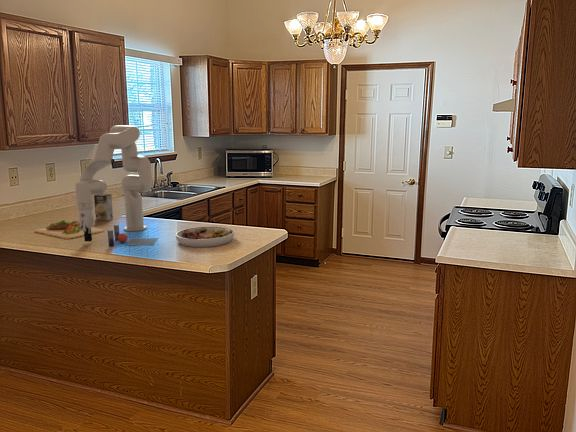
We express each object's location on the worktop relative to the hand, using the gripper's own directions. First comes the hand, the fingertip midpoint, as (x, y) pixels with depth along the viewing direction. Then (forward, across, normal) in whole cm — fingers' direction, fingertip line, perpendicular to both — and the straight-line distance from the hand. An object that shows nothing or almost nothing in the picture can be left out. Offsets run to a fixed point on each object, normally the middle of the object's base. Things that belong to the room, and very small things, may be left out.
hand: (88, 240), depth 255 cm
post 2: (+2, +6, -13) cm, 14 cm away
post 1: (+2, -6, -13) cm, 14 cm away
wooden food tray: (+3, +31, +20) cm, 37 cm away
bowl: (+2, -2, -60) cm, 60 cm away
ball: (-1, 0, -17) cm, 17 cm away
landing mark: (+2, 0, -27) cm, 27 cm away
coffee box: (+2, +64, +9) cm, 65 cm away
